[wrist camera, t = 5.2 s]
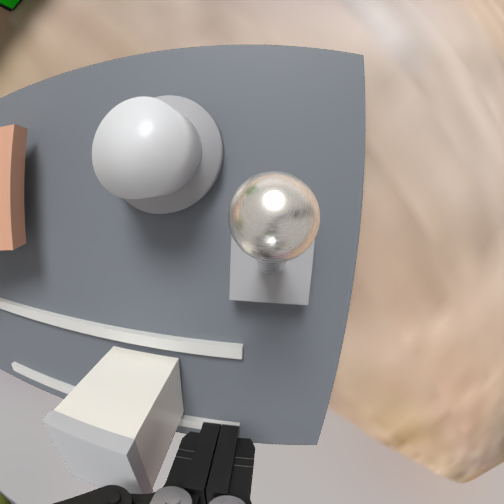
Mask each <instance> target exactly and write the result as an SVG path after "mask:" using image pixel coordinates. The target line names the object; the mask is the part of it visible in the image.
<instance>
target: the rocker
mask: <svg viewBox="0 0 504 504" xmlns="http://www.w3.org/2000/svg"><path fill="white" fill-rule="evenodd" d="M27 131H28V129H27V128H24V127H21V126H18V125H15V124H13V125H8V126H3V127H0V250H14V249H16V248H18V247H20V246H22V245H24V244H26V231H25V210H24V174H25V154H26V142H27Z"/></svg>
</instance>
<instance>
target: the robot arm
mask: <svg viewBox="0 0 504 504" xmlns="http://www.w3.org/2000/svg"><path fill="white" fill-rule="evenodd" d="M239 435H240V426H235V425H226V424H222V425H221V424H217V423H209V422H203V425H202V428H201V431H200V433H198V432H192V431H190V432H189V433H188V434H187V435H186V436H185V437H183V438H182V441H181V444H180V446H179V450H178V452H177V454H176V457H175V460H174V462H173V465H172V468H171V470H170V473H169V476H168V478H167V481H166V483H165V485H164V486H163V488H161V489H159V490H158V491H157V492H154V493H150V494H131V493H129V492H128V491H127V490H126V489H125V488H123V487H121V486H118V485H107V486H104V487H101V488H99V489H96V490H93V491H90V492H88V493H85V494H82V495H79V496H76V497H73V498H70V499H67V500H64V501H61V502H57V503H54V504H252V503H251V501H250V493H251V484H252V474H253V465H254V454H255V447H254V445H253V442H252V440H251V439H248V438H239Z"/></svg>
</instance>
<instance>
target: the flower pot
mask: <svg viewBox="0 0 504 504" xmlns="http://www.w3.org/2000/svg"><path fill="white" fill-rule="evenodd" d="M0 504H10V502H9V501H8V500H7V499H6V498H5V497H4V496H3V495H1V494H0Z"/></svg>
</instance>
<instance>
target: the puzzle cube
mask: <svg viewBox="0 0 504 504" xmlns="http://www.w3.org/2000/svg"><path fill="white" fill-rule="evenodd" d="M20 1H21V0H0V7H2V8H4V9H6V10H8V11H11V10H14V8H15V7H16V6H17V5H18V4H19V2H20Z"/></svg>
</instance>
